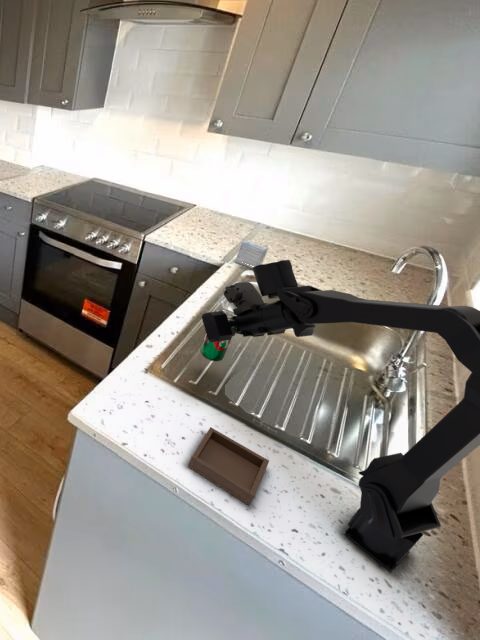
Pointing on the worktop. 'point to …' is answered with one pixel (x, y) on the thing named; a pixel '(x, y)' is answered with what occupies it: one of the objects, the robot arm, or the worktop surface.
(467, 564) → the worktop surface
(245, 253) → the medicine box
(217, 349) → the soda can
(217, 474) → the tray
